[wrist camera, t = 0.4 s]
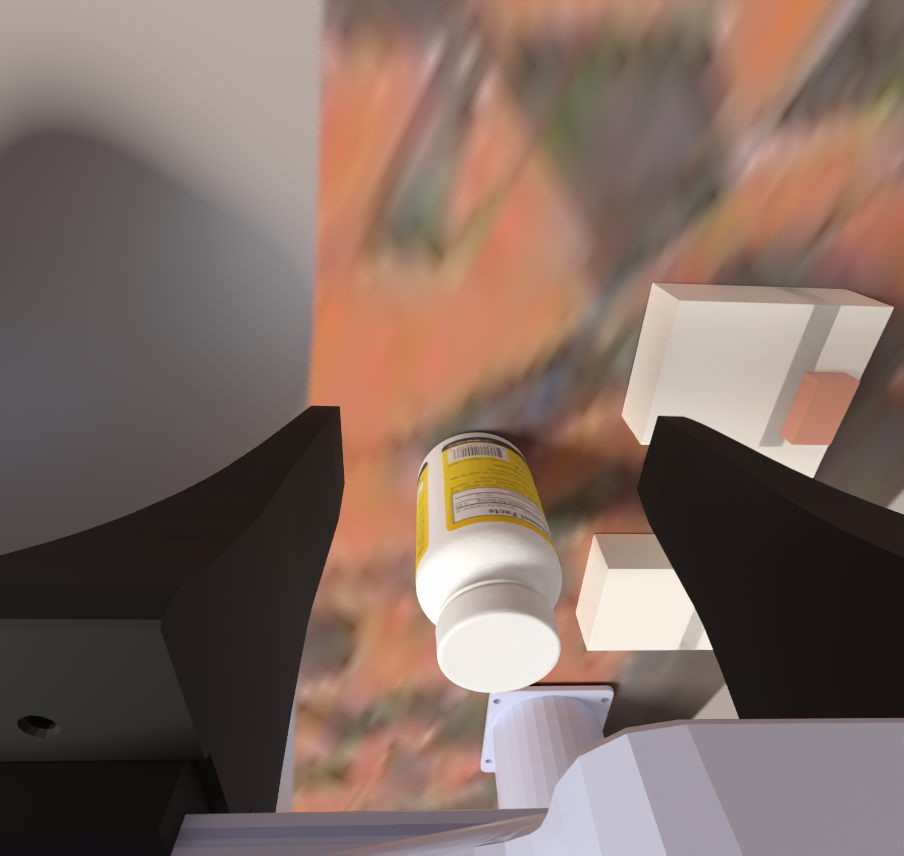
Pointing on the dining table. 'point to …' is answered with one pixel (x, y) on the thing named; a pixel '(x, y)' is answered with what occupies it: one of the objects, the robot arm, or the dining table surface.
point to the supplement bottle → (486, 565)
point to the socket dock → (724, 422)
